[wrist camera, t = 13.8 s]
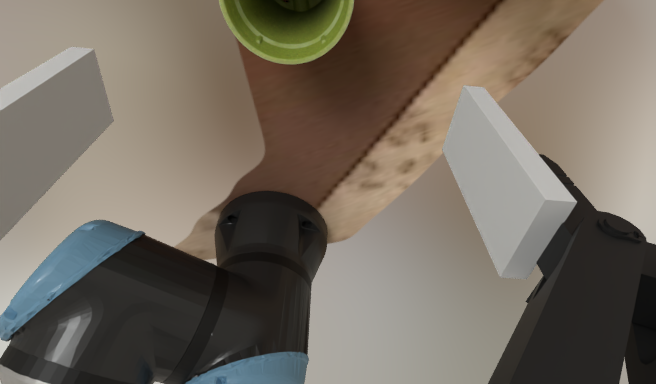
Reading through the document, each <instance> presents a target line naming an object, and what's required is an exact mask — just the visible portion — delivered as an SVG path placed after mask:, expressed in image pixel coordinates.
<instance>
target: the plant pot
mask: <svg viewBox="0 0 656 384" xmlns="http://www.w3.org/2000/svg"><path fill="white" fill-rule="evenodd" d="M219 4H220V8H221V11H222V14H223V16H224V18H225V20H226V23H227V25H228V26H229V28H230V29H231V31H232V32H233V34H234V35H235V36H236V38H237V39H238V40H239V41H240V42H241V43H242V44H243V45H244V46H245V47H246V48H248V49H249V50H250V51H251V52H253V53H255V54H256V55H258V56H259V57H261V58H264V59H266V60H269V61H272V62H275V63H280V64H301V63H306V62H309V61H312V60H315V59H317V58H319V57H321V56H322V55H324V54H325V53H327V52H328V51H329V50H330V49H331V48H333V47H334V46H335V45H336V43H337V42H338V41H339V40H340V38H341V37H342V35H343V34H344V32H345V30H346V28H347V26H348V24H349V21H350V18H351V15H352V11H353V6H354V0H289V2H288V3H286V2H284V1H282V0H219Z"/></svg>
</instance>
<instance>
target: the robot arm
mask: <svg viewBox="0 0 656 384" xmlns="http://www.w3.org/2000/svg"><path fill="white" fill-rule="evenodd" d="M113 121H114V120H113V116H112V113H111V109H110V106H109V102H108V98H107V94H106V91H105V87H104V84H103V80H102V76H101V73H100V69H99V65H98V62H97V58H96V55H95V51H94V49H88V48H77V47H70V48H68V49H67V50H65V51H63V52H62V53H60V54H58V55H56V56H55V57H53V58H51V59H50V60H48V61H46V62H44V63H43V64H41V65H39V66H38V67H36V68H34V69H33V70H31V71H29V72H28V73H26V74H24V75H23V76H21V77H19V78H17V79H16V80H14V81H12V82H11V83H9V84H7V85H6V86H4V87H2V88H0V240H1V239H2V238H3V237H4V236H5V235H6V234H7V233H8V232H9V231H10V230H11V229H12V227H14V225H15V224H16V223H17V222H18V221H19V220H20V219H21V218H22V217H23V216H24V215H25V214H26V213H27V212H28V211H29V210H30V209H31V208H32V206H33V205H34V204H35V203H36V202H37V201H38V200H39V199H40V198H41V197H42V196H43V195H44V194H45V193H46V191H48V190H49V189H50V187H51V186H52V185H53V184H54V183H55V182H56V181H57V180H58V179H59V178H60V177H61V176H62V175H63V174H64V173H65V172H66V171H67V169H69V167H70V166H71V165H72V164H73V163H74V162H75V161H76V160H77V159H78V158H79V157H80V156H81V155H82V154H83V153H84V152H85V151H86V150H87V148H88V147H89V146H90V145H91V144H92V143H93V142H94V141H95V140H96V139H97V138H98V137H99V136H100V135H101V134H102V133H103V132H104V131H105V129H106V128H107V127H108V126H109V125H110V124H111V123H112V122H113ZM442 150H443V152H444V154H445V156H446V158H447V161H448V163H449V166H450V168H451V170H452V172H453V174H454V177H455V179H456V181H457V183H458V185H459V188H460V190H461V192H462V194H463V197H464V199H465V201H466V203H467V205H468V208H469V210H470V212H471V214H472V216H473V219H474V221H475V223H476V225H477V227H478V230H479V232H480V234H481V236H482V239H483V241H484V243H485V245H486V248H487V250H488V252H489V254H490V256H491V259H492V261H493V263H494V265H495V267H496V270H497V272H498V274H499V276H500V277H502V278H519V279H527V278H528V277H529V275H530V274H531V272H532V271H533V269H534V267H535V266H536V264H537V265H538V266H539V268H540V270H541V272H542V273H543V275H544V276H543V277H542V279H541V280H540V282H539V283H538V284H537V286H536V287H535V289H534V290H533V292H532V293H531V295H530V296H529V297H528V299H527V301H526V302H527V303H528V305H527V307H526V309H525V311H524V313H523V315H522V317H521V319H520V321H519V323H518V325H517V327H516V329H515V331H514V333H513V335H512V337H511V339H510V341H509V343H508V345H507V347H506V349H505V351H504V353H503V355H502V357H501V359H500V361H499V363H498V365H497V367H496V369H495V371H494V373H493V375H492V377H491V379H490V381H489V383H488V384H619V381H620V376H621V371H622V366H623V361H624V356H625V363H626V369H627V375H628V382H629V384H656V245H655V244H652V243H648V242H647V241H646V237H645V236H644V235H643V233H642V232H641V231H640V230H639V229H638V228H637V227H636V226H634V225H633V224H631V223H630V222H628V221H627V220H625V219H623V218H621V217H619V216H616V215H613V214H610V213H607V212H601V211H597V210H596V209H595V208H594V206H593V205H592V204H591V203H590V202H589V201H588V199H587V198H586V197H585V196H584V195H583V194H582V192H581V191H580V190H579V189H578V188H577V187H576V186H574V183H573V182H572V181H571V180H570V178H569V177H566V176H567V175H566V174H565V173H564V171H563V170H562V169H561V168H560V167H559V166H558V165H557V164H556V163H554V162H553V161H552V160H550V159H549V158H547V157H546V156H545V155H541V154H538V153H537V152H536V151H535V150H534V148H533V147H532V146H531V145H530V144H529V142H528V141H527V140H526V139H525V137H524V136H523V135H522V134H521V133H520V131H519V130H518V129H517V128H516V127H515V125H514V124H513V123H512V122H511V120H510V119H509V118H508V116H507V115H506V114H505V113H504V112H503V110H502V109H501V108H500V107H499V105H498V104H497V103H496V102H495V100H494V99H493V98H492V97H491V96H490V94H489V93H488V92H487V91H486V89H485V88H484V87H476V86H465V85H463V88H462V91H461V94H460V97H459V100H458V103H457V106H456V109H455V112H454V115H453V118H452V121H451V124H450V127H449V130H448V133H447V136H446V139H445V142H444V145H443V148H442ZM215 247H216V258H217V266H216V265H214V264H212V263H209V262H207V261H204V260H202V259H199V258H197V257H195V256H192V255H190V254H187V253H185V252H183V251H180V250H178V249H176V248H174V247H171V246H169V245H167V244H164V243H162V242H160V241H157V240H155V239H152V238H151V237H148V236H146V235H145V233H144V232H142V231H138V232H137V231H134V230H131V229H129V228H126V227H123V226H120V225H117V224H115V223H112V222H110V221H106V220H94V221H91V222H88V223H85V224H84V225H82V226H81V227H79V228H77V229H76V230H75V231H74V232H72V233H71V234H70V235H69V236H68V237H67V238H66V239H65V240H63V242H62V243H61V244H59V245H58V247H57V248H56V249H55V250H54V251H53V252H52V253H51V254H50V255H49V256H48V257H47V258H46V259H45V260H44V261H43V262H42V263H41V265H40V266H39V267H38V268H37V269H36V270H35V271H34V273H33V274H32V275H31V276H30V277H29V278H28V280H27V281H26V282H25V283H24V285H23V286H22V287H21V288H20V290H19V291H18V292H17V293H16V295H15V296H14V298H13V299H12V300H11V302H10V305H9V306H8V307H7V309H6V310H5V312H4V313H3V314H2V315H1V316H0V338H1V340H4V341H9V340H11V342H10V344H9V346H8V347H7V349H6V350H5V352H4V353H3V355H2V357H1V358H0V380H1V383H2V384H153V383H154V382H155V381H156V382H160V383H164V384H304V382H305V375H306V368H307V364H308V360H309V359H308V356H307V354H308V336H309V318H310V299H311V283H312V281H313V279H314V277H315V275H316V272H317V270H318V268H319V266H320V264H321V262H322V259H323V258H324V255H325V252H326V247H327V228H326V224H325V222H324V220H323V218H322V216H321V215H320V214H319V213H318V211H317V210H316V209H315V208H313V207H312V206H311V205H310V204H308V203H307V202H305V201H303V200H301V199H299V198H297V197H295V196H292V195H289V194H285V193H280V192H273V191H261V192H253V193H249V194H245V195H242V196H240V197H238V198H236V199H234V200H233V201H231V202H230V203H229V204H228V205H227V206H226V207H225V208H224V209H223V211H222V212H221V214H220V217H219V220H218V223H217V226H216V229H215Z"/></svg>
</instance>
